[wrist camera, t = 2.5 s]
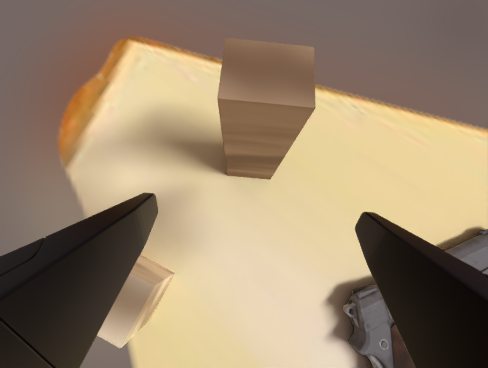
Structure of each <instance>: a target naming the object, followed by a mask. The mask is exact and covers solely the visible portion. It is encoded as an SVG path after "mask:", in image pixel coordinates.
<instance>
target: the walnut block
mask: <svg viewBox="0 0 488 368" xmlns="http://www.w3.org/2000/svg"><path fill="white" fill-rule="evenodd" d="M314 67H315V66H314V47H307V46H299V45H290V44H280V43H271V42H261V41H252V40H242V39H233V38H226V40H225V47H224V55H223V61H222V69H221V76H220V83H219V91H218V106H219V114H220V122H221V129H222V137H223V145H224V152H225V160H226V168H227V176H238V177H250V178H261V179H271V177H272V176H273V174H274V173H275V171H276V169H277V168H278V166H279V165H280V163H281V161H282V160H283V158H284V157H285V155H286V154H287V152H288V150H289V149H290V147H291V146H292V144H293V142H294V141H295V139H296V138H297V136H298V135H299V133H300V131H301V130H302V128H303V127H304V125H305V124H306V122H307V120H308V119H309V117H310V116H311V114H312V112H313V111H314V109H315V69H314Z"/></svg>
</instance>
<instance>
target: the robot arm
mask: <svg viewBox="0 0 488 368" xmlns="http://www.w3.org/2000/svg"><path fill="white" fill-rule="evenodd" d="M157 214H158V206H157V200H156V196H155V194H153V193H142V194H140V195H138V196H136V197H134V198H131V199H129V200H127V201H125V202H122V203H120V204H118V205H116V206H113V207H111V208H109V209H107V210H104V211H102V212H100V213H98V214H95V215H93V216H91V217H89V218H87V219H84V220H82V221H80V222H78V223H75V224H73V225H71V226H69V227H66V228H64V229H62V230H60V231H58V232H55V233H53V234H51V235H48V236H46V238H42V239H39V240H37V241H35V242H33V243H31V244H28V245H26V246H24V247H21V248H19V249H17V250H14V251H12V252H10V253H8V254H5V255H3V256H0V368H80V366H81V364H82V362H83V360H84V358H85V356H86V354H87V353H88V351H89V349H90V347H91V345H92V343H93V341H94V340H95V338H96V336H97V334H98V332H99V330H100V329H101V327H102V325H103V323H104V321H105V319H106V317H107V315H108V314H109V312H110V310H111V308H112V306H113V304H114V302H115V300H116V299H117V297H118V295H119V293H120V291H121V289H122V287H123V286H124V284H125V282H126V280H127V278H128V276H129V274H130V272H131V271H132V269H133V267H134V265H135V263H136V261H137V259H138V258H139V256H140V254H141V252H142V250H143V248H144V246H145V244H146V242H147V239H148V237H149V234H150V232H151V229H152V227H153V224H154V222H155V219H156V216H157ZM355 231H356V234H357V237H358V240H359V243H360V246H361V249H362V251H363V254H364V257H365V260H366V263H367V265H368V267H369V269H370V272H371V274H372V276H373V278H374V280H375V282H376V285H377V287H378V289H379V291H380V293H381V295H382V297H383V300H384V302H385V304H386V306H387V308H388V310H389V312H390V315H391V317H392V319H393V321H394V323H395V325H396V327H397V330H398V332H399V334H400V336H401V338H402V340H403V342H404V345H405V347H406V349H407V351H408V353H409V355H410V358H411V360H412V362H413V364H414V366H415V368H488V275H487V274H485V273H483V272H482V271H480V270H478V269H476V268H475V267H473V266H471V265H469V264H467V263H465V262H464V261H462V260H460V259H458V258H456V257H454V256H453V255H451V254H449V253H447V252H445V251H443V250H442V249H440V248H438V247H436V246H434V245H432V244H431V243H429V242H427V241H425V240H423V239H422V238H420V237H418V236H416V235H414V234H412V233H411V232H409V231H407V230H405V229H403V228H401V227H400V226H398V225H396V224H394V223H392V222H390V221H389V220H387V219H385V218H383V217H381V216H379V215H378V214H376V213H373V212H363V213H362V214H361V216H360V218H359V220H358V222H357V224H356V226H355Z"/></svg>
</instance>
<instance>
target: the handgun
mask: <svg viewBox="0 0 488 368" xmlns="http://www.w3.org/2000/svg"><path fill="white" fill-rule="evenodd" d="M478 233H479V235H477V236H475V237H473V238H471V239H469V240H467V241H465V242H463V243H461V244H458V245H456V246H454V247H452V248H450V249H448V250H446V251H445V252H447V253H449V254H451V255H453V256H454V257H456V258H458V259H460V260H462V261H464V262H465V263H467V264H469V265H471V266H473V267H475V268H476V269H478V270H480V271H482V272H483V273H485V274H487V275H488V229H487V230H483V231H480V232H478ZM343 311H344V313H346V314H347V315H348V316H350V318H351V323H352V324H353V325H354V333H353V335H352V336H351V337H350V339H349V344H350V345H351V346H352V347H353V348H354V349H355V350H356V351H357V352H358V353H360V354H361V355H366V356H367V357H368V358H369V359H370V361H371V363H372V366H373V368H415V366H414V364H413V362H412V360H411V358H410V355H409V353H408V351H407V349H406V347H405V345H404V342H403V340H402V338H401V336H400V334H399V332H398V330H397V327H396V325H395V323H394V321H393V319H392V317H391V315H390V312H389V310H388V308H387V306H386V304H385V302H384V300H383V297H382V295H381V293H380V291H379V289H378V287H377V285H376V284H375V285H373V286H372V285H368V286H365V287H362V288H359V289H356V290H353V291H352V296H351V297H350V299H349V301H348V304H345V305H344V306H343Z"/></svg>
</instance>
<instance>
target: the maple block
mask: <svg viewBox="0 0 488 368" xmlns="http://www.w3.org/2000/svg"><path fill="white" fill-rule="evenodd" d="M173 275H174V273H173V272H171V271H169V270H167V269H165V268H164V267H162V266H160V265H158V264H156V263H154V262H152V261H150V260H148V259H146V258H144V257H143V256H141V255H140V256H139V258H138V259H137V261H136V263H135V265H134V267H133V269H132V271H131V272H130V274H129V276H128V278H127V280H126V282H125V284H124V286H123V287H122V289H121V291H120V293H119V295H118V297H117V299H116V300H115V302H114V304H113V306H112V308H111V310H110V312H109V314H108V315H107V317H106V319H105V321H104V323H103V325H102V327H101V329H100V330H99V332H98V334H97V335H98V336H99V337H101V338H103V339H105V340H106V341H108V342H110V343H112V344H113V345H116V346H117V347H119V348H121V347H122V346H123V345H124V344H126V343H127V342H128V341H129V340H130V339H131V338H132V337H133V336H134V335H135V334H136V333H137V332H138V331H139V330H140V329H141V328H142V327H143V326H144V325H145V324H146V323H147V322H148V321H149V320H150V319H151V317H152V315H153V313H154V311H155V309H156V307H157V305H158V304H159V302H160V300H161V298H162V296H163V294H164V292H165V290H166V288H167V287H168V285H169V283H170V281H171V279H172V277H173Z"/></svg>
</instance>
